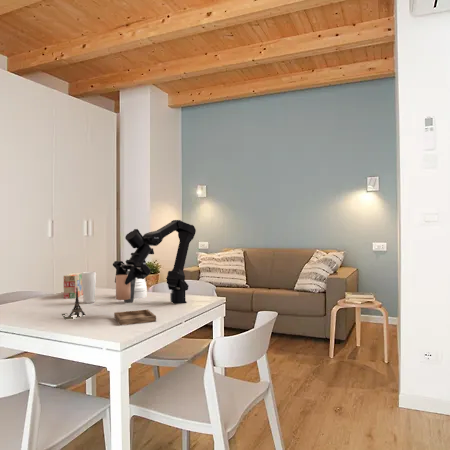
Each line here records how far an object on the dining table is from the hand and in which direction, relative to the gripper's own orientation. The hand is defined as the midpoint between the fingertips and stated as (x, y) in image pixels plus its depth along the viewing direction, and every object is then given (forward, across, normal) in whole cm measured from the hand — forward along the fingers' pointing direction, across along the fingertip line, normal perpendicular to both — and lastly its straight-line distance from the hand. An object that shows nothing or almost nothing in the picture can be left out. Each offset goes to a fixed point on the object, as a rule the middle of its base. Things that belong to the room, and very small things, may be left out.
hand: (120, 283), depth 168 cm
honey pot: (-15, +31, -35) cm, 49 cm away
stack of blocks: (-6, +62, -26) cm, 68 cm away
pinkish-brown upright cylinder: (+4, 0, -6) cm, 7 cm away
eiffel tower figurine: (+18, +16, -3) cm, 24 cm away
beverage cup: (-6, +21, -26) cm, 34 cm away
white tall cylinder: (+2, +37, -18) cm, 42 cm away
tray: (+10, -10, -9) cm, 17 cm away
